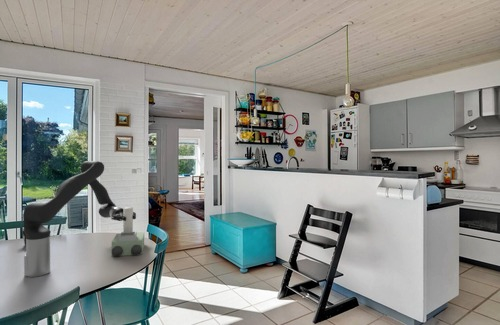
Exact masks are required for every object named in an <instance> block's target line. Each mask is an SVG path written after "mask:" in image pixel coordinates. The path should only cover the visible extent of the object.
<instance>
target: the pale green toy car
mask: <svg viewBox="0 0 500 325" xmlns="http://www.w3.org/2000/svg"><path fill="white" fill-rule="evenodd" d="M144 247H145V232H138V231H133V232H131V233H123V231H121V232H120V233H116V234H115V236H114V238H113V239H112V241H111V257H115V258H120V257H123V256H139V255H143V251H144Z"/></svg>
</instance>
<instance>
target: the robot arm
mask: <svg viewBox="0 0 500 325" xmlns="http://www.w3.org/2000/svg"><path fill="white" fill-rule="evenodd" d="M80 171H81V173H79V174H76V175H73V176H71V177H68V178H67V179H66V180H64V181H63V182H61V183H60V184H59V185H58V187H57V188H56V192H55V195H54V197H53V198H52V199H50V200H49V201H47V202H45V203H40V202H31V203H29V204H27V205H26V206H25V208H24V210H23V216H22V220H23V229H24V232H25V234H26V246H25V247H26V248H25V252H26V253H25V255H24V256H23V258H24V260H23V265H24V268H23V269H24V270H23V271H24V272H23V273H24V274H23V276H24V277H28V278H29V277H30V278H35V277H41V276H45V275H47V274H48V273H51V231H50V229H49V228H47V227H46V226H44V224H46V223H49V222H51V221H52V220H53V219H54V218H55V217H56V215H57V214H59V212H60V211H61V210H62V209H63V208H64V207H65V206H66V205H67V204H68V203H69V202H70V201H71V200H72V199H73V198H74V197H76V196H77V195H78V194H79V193H81V192H82V190H84V189H85V188H86V187H87V186H88V185H89V186H90V188H91V190H92V192H93V193H94V195H95V198H96V200H97V202H98V204H99V205H100V206H101V205H102V206H101V207H99V209H98V214H99V215H100V217H102V218H106V219H108V218H111V220H112V221H118V222H123V221H126V217H125V216H123V208H124V207H123V208H122V207H119V206H117V205H116V204H115V203H114V202H113V201H112V199H111V197H110V194H109V192H108V190H107V188H106V187H105V186H104V185H103V184H102V183H101V182H100V181H99V180H98V178H99V177H101V176H102V175H103V173H104V171H105V164H104V163H103V162H101V161H97V160H86V161H83V162H82V164H81V165H80ZM136 218H137V213H136V212H134V211H133V220H136Z"/></svg>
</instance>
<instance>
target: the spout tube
mask: <svg viewBox="0 0 500 325" xmlns="http://www.w3.org/2000/svg"><path fill="white" fill-rule="evenodd" d="M133 212H134V207H133V206H125V207H123V216H125V217H126V221H123V220H122V222H123V225H122V226H123V228H122V230H123V231H122V232H123V233H131V232H134V229H133V228H134V227H133V226H134V221H133V220H134V219H133Z"/></svg>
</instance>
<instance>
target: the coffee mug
mask: <svg viewBox="0 0 500 325" xmlns="http://www.w3.org/2000/svg"><path fill="white" fill-rule="evenodd" d="M22 236H23V243H24V247H26V234H25V232H24V228H23V229H22Z"/></svg>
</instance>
